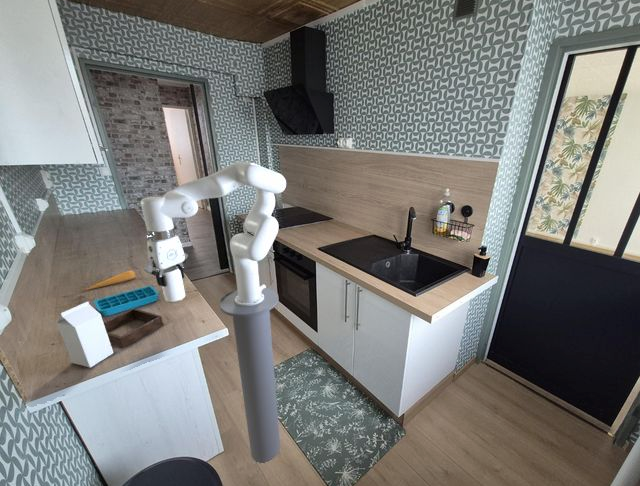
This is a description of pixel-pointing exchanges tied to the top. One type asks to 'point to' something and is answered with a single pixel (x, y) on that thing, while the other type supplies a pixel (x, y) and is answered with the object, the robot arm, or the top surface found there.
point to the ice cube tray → (126, 300)
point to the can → (173, 284)
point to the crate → (127, 339)
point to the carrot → (115, 279)
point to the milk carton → (84, 335)
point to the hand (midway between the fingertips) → (171, 281)
